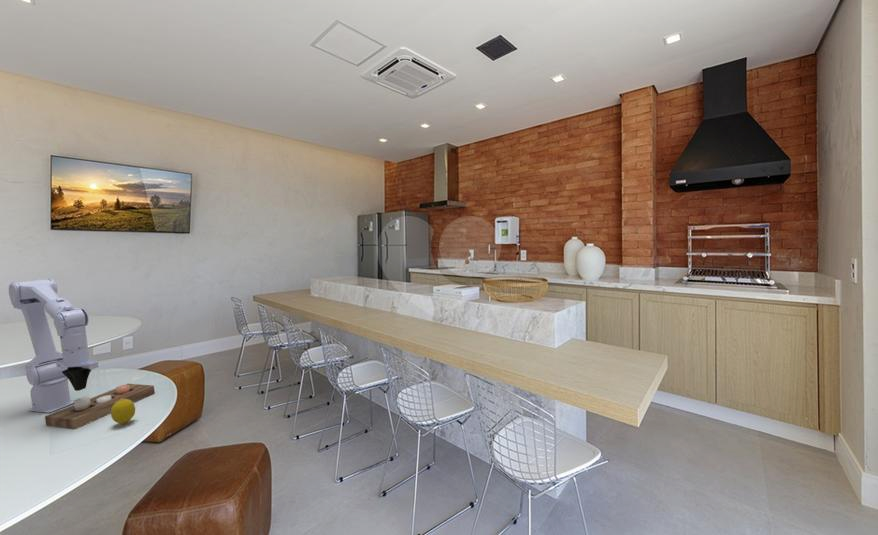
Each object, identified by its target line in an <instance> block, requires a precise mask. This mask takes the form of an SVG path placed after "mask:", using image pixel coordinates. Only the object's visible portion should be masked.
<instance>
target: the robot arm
mask: <svg viewBox="0 0 878 535" xmlns="http://www.w3.org/2000/svg"><path fill="white" fill-rule="evenodd" d="M8 295H9V299H10V302H11V305H12V306H13V309H17V310H21V312H22V314H23V317H24V321H25V323H26V327H27V331H28V334H29V337H30V341H31V344H32V348H33V350H34V354H35V356H34V357H33V358H32V359H31V360H30V361H29V362H27V363H26V364H25V369H26V370H25V371H26V373H25V374H26V379H27V381H28V383H29V385H31V386H32V387H31V389H30V391H29V392H30V400H31V406H32V408H29V409H28V411H29V412H36V413H47V414H51V413H52V412H53V413H54V412H57V411H59V410H62V409H64V408H67V407H69V406H72V405H74V404H73V403H74V400H75V399H71V396H70V395H71V394H70V388H69V382H70V384H71V386H72V388H73V390H74V391H77V392H79V391H81V390H84V389H86V388H87V383H88V380H89V376H90V374H91V372H92V370H94V369H95V370H96V369H97V368H99V361H97V360H94V359H92V358H90V354H89V353H90V352H89V347H88V340H87V339H88V338H87V337H88V336H87V331H86V326H88V324H89V314H88V312H87V311H86V309H84V308H83V307H81V308H80V307H77V308H76V307H75V306H74V305H73V304H72V303H71V302H70V301H69V300H68V299H66V298H63V297H60V296H59V295H58V285H57V283H56V281H55V280H54V279H52V278H47V279H35V280H27V281H26V280H25V281H24V280H23V281H12V282H10V284H9V286H8ZM46 313H47V314H48V315H49V316H50V318H52V319H53V325H54V327H55V330H56V334H57V336H58V337H59V340H60V341H59V342H60V347H61V352H60V351H57V348H56V345H55V341H54V339H53V335H52V332H51V328H50V325H49V321H48V318H47V315H46Z"/></svg>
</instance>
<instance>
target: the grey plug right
mask: <svg viewBox="0 0 878 535" xmlns="http://www.w3.org/2000/svg"><path fill="white" fill-rule="evenodd" d="M90 398H91V397H90V396H83V397H79V398H76V399H73V400H74V404H73V405H74V408H75V411H81V410H85V409H88V408H90V407H91V404H90Z"/></svg>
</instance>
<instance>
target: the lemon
mask: <svg viewBox="0 0 878 535" xmlns="http://www.w3.org/2000/svg"><path fill="white" fill-rule="evenodd" d="M135 414H136V406H135V403H133V402H132V401H131V400H129V399H120V400H119V401H117V402H116V403H115V404H114V405H113V407H112V409H111V413H110V416H111V419H112V420H113V421H114V422H115V423H118V424H123V425H126V424H127V423H128V422H129V421H130V420H131V419H132V418H133V417H134V416H135Z"/></svg>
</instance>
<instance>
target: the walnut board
mask: <svg viewBox="0 0 878 535" xmlns="http://www.w3.org/2000/svg"><path fill="white" fill-rule="evenodd" d="M125 385H130V392H127V393H125V394H123V395H117V394H116V388H113V389H111V390H108V391H107V392H103V393H100V394H98V395H96V396H93V397H90V404H91V407H90V408H88V409H85V410H81V411H75V408H74V404H71V405H69V406H66V407H64V408H61V409H59V410H56V411H54V412H53V413H52V412H51V413H49V414H48V415H45V416H44V420H45V421H44V422H45V426H47V427H55V428H62V429H63V428H65V429H71V430H77V429H79V428H82V427H83V426H85V424H86V425H88V424H90V423H92V422H94V420H95V421H97V420H99V419H101V418H103V417H105V415H106V416H108V415H111V409H112V407H113V405H114V404H115V403H116V402H117V401H119V400H120V399H129V400H131V401H132V402H135V403H137V402H139V401H141V400H143V399H145V397H146V398H148V397H150V396H152V395H154V393H155V394H156V392H155V386H154V384H153V385H152V384H139V383H125ZM107 395H111V400H108V401H106V402H103V403H97V400H96V399H98V398H100V397H102V396H107ZM138 400H139V401H138ZM136 401H137V402H136ZM107 414H108V415H107ZM98 418H99V419H98ZM96 419H97V420H96ZM91 421H92V422H91ZM89 422H90V423H89ZM87 423H88V424H87ZM78 427H79V428H78Z"/></svg>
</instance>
